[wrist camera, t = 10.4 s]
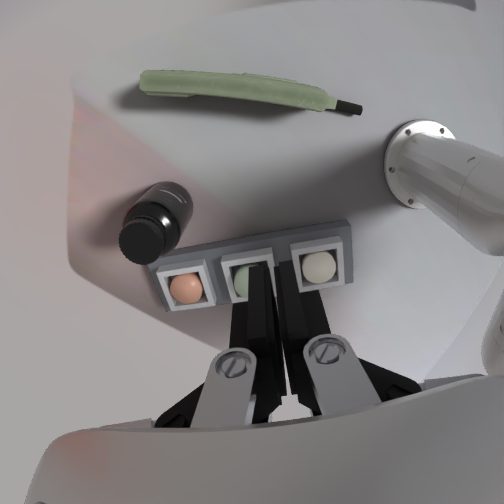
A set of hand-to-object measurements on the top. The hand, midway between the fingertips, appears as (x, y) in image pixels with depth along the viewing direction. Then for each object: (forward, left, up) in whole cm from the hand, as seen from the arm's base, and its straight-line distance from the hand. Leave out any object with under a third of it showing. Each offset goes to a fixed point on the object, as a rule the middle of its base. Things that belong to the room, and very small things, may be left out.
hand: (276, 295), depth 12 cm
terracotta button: (+13, +15, -27) cm, 33 cm away
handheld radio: (-1, -8, -30) cm, 31 cm away
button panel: (+4, +15, -29) cm, 33 cm away
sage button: (+4, +15, -26) cm, 30 cm away
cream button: (-5, +15, -27) cm, 31 cm away
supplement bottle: (+13, +4, -29) cm, 32 cm away
